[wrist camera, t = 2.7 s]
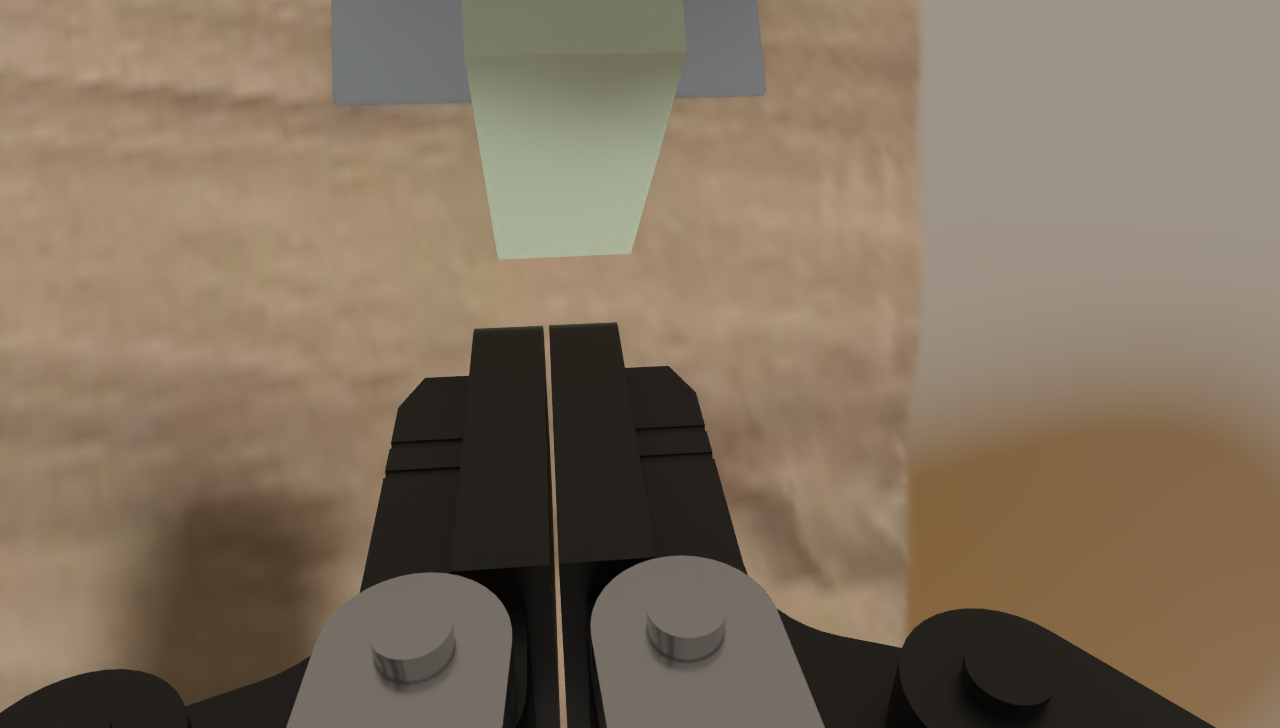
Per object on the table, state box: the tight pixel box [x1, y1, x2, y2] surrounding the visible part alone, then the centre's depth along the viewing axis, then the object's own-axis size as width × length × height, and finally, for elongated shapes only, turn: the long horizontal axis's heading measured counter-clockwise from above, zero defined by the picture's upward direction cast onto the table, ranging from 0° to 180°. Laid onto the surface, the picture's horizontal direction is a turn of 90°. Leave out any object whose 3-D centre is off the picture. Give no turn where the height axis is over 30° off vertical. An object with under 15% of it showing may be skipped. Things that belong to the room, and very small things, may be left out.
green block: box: [462, 0, 687, 259], centre depth 25 cm, size 4×4×13 cm
